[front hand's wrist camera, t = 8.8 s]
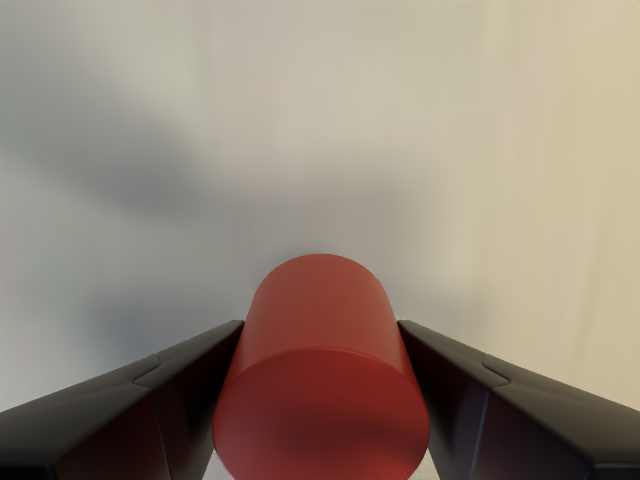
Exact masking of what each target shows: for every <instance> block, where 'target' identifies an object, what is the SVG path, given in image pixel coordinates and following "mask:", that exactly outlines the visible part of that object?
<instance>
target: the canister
mask: <svg viewBox="0 0 640 480" xmlns="http://www.w3.org/2000/svg"><path fill="white" fill-rule="evenodd" d="M212 438H213V443H214V447H215V450H216V453H217V455H218V458H219V460H220V461H221V463H222V465H223V466H224V468H225V469H226V471H227V472H228V473H229V474H230V475H231V477H232V478H233V479H234V480H407V479H408V478H410V477H411V475H412V474H413V473H414V472H415V470H416V469H417V468H418V466H419V465H420V463H421V461H422V460H423V457H424V455H425V453H426V450H427V447H428V442H429V438H430V420H429V414H428V410H427V407H426V404H425V401H424V398H423V395H422V392H421V390H420V387H419V384H418V381H417V378H416V376H415V373H414V370H413V367H412V364H411V362H410V359H409V356H408V353H407V350H406V348H405V345H404V342H403V339H402V336H401V334H400V331H399V328H398V325H397V322H396V319H395V317H394V314H393V311H392V308H391V305H390V303H389V300H388V297H387V294H386V292H385V290H384V288H383V286H382V285H381V283H380V282H379V280H378V279H377V278H376V277H375V276H374V275H373V274H372V273H371V272H370V271H369V270H367V269H366V268H365V267H363V266H362V265H360V264H358V263H357V262H354V261H352V260H350V259H347V258H344V257H341V256H336V255H331V254H311V255H305V256H300V257H297V258H294V259H291V260H289V261H287V262H285V263H283V264H281V265H280V266H278V267H277V268H275V269H274V270H273V271H272V272H270V273H269V274H268V275H267V276H266V277H265V279H264V280H263V281H262V282H261V284H260V285H259V287H258V289H257V291H256V293H255V295H254V298H253V301H252V304H251V306H250V309H249V312H248V315H247V318H246V321H245V324H244V326H243V329H242V332H241V335H240V338H239V341H238V344H237V346H236V349H235V352H234V355H233V358H232V361H231V364H230V366H229V369H228V372H227V375H226V378H225V381H224V384H223V386H222V389H221V392H220V395H219V398H218V401H217V404H216V407H215V410H214V413H213V419H212Z"/></svg>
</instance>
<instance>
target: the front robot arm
mask: <svg viewBox="0 0 640 480" xmlns="http://www.w3.org/2000/svg"><path fill="white" fill-rule="evenodd" d="M244 324H245V321H243V320H232V321H230V322H227V323H225V324H223V325H221V326H218V327H216V328H214V329H211V330H209V331H207V332H205V333H202V334H200V335H198V336H195V337H193V338H191V339H188V340H186V341H184V342H182V343H179V344H177V345H175V346H172V347H170V348H168V349H166V350H163V351H161V352H159V353H157V354H153V355H151V356H148V357H146V358H144V359H141V360H139V361H137V362H134V363H132V364H129V365H127V366H124V367H122V368H119V369H116V370H114V371H111V372H108V373H106V374H103V375H100V376H98V377H95V378H92V379H90V380H87V381H84V382H81V383H79V384H76V385H73V386H71V387H68V388H65V389H63V390H60V391H57V392H54V393H52V394H49V395H46V396H44V397H41V398H38V399H36V400H33V401H30V402H28V403H25V404H22V405H19V406H17V407H14V408H11V409H9V410H6V411H3V412H1V413H0V480H202V478H203V476H204V473H205V471H206V468H207V465H208V463H209V460H210V458H211V455H212V452H213V450H214V443H213V438H212V419H213V413H214V410H215V407H216V404H217V401H218V398H219V395H220V392H221V389H222V386H223V384H224V381H225V378H226V375H227V372H228V369H229V366H230V364H231V361H232V358H233V355H234V352H235V349H236V346H237V344H238V341H239V338H240V335H241V332H242V329H243V326H244ZM397 325H398V328H399V331H400V334H401V336H402V339H403V342H404V345H405V348H406V350H407V353H408V356H409V359H410V362H411V364H412V367H413V370H414V373H415V376H416V378H417V381H418V384H419V387H420V390H421V392H422V395H423V398H424V401H425V404H426V407H427V410H428V414H429V420H430V438H429V442H428V449H429V452H430V455H431V457H432V460H433V462H434V465H435V467H436V470H437V473H438V475H439V478H440V480H640V411H638V410H635V409H632V408H629V407H627V406H624V405H621V404H619V403H616V402H613V401H610V400H608V399H605V398H602V397H599V396H597V395H594V394H591V393H589V392H586V391H583V390H580V389H578V388H575V387H572V386H570V385H567V384H564V383H561V382H559V381H556V380H553V379H551V378H548V377H545V376H542V375H540V374H537V373H534V372H532V371H529V370H526V369H524V368H521V367H518V366H516V365H513V364H511V363H508V362H506V361H503V360H501V359H499V358H496V357H494V356H492V355H489V354H487V355H486V353H484V352H481V351H479V350H477V349H474V348H472V347H470V346H467V345H465V344H463V343H460V342H458V341H456V340H454V339H451V338H449V337H447V336H444V335H442V334H440V333H437V332H435V331H433V330H430V329H428V328H426V327H423V326H421V325H419V324H417V323H414V322H412V321H410V320H398V321H397Z"/></svg>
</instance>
